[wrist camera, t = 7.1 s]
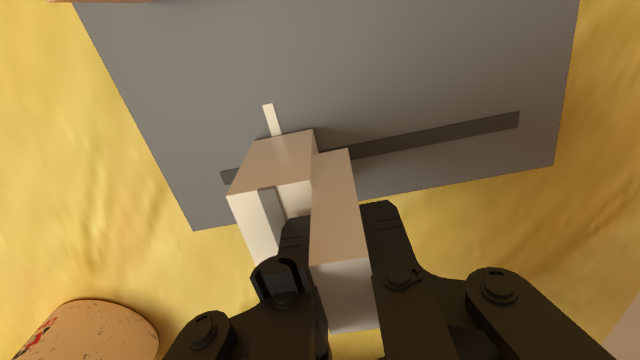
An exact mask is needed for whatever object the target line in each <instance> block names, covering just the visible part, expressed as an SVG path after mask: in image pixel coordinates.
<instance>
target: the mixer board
mask: <svg viewBox="0 0 640 360" xmlns="http://www.w3.org/2000/svg"><path fill="white" fill-rule="evenodd" d="M579 2H580V0H155V1H152V2H148V3H76V2H71V3H72V4H73V6H74V8H75V10H76V12H77V14H78V16H79V18H80V19H81V21H82V23H83V25H84V27H85V29H86V31H87V33H88V35H89V36H90V38H91V40H92V42H93V44H94V46H95V48H96V50H97V51H98V53H99V55H100V57H101V59H102V61H103V63H104V65H105V66H106V68H107V70H108V72H109V74H110V76H111V78H112V80H113V82H114V83H115V85H116V87H117V89H118V91H119V93H120V95H121V97H122V98H123V100H124V102H125V104H126V106H127V108H128V110H129V112H130V114H131V115H132V117H133V119H134V121H135V123H136V125H137V127H138V129H139V130H140V132H141V134H142V136H143V138H144V140H145V142H146V144H147V146H148V147H149V149H150V151H151V153H152V155H153V157H154V159H155V161H156V162H157V164H158V166H159V168H160V170H161V172H162V174H163V176H164V178H165V179H166V181H167V183H168V185H169V187H170V189H171V191H172V193H173V194H174V196H175V198H176V200H177V202H178V204H179V206H180V208H181V210H182V211H183V213H184V215H185V217H186V219H187V221H188V223H189V225H190V226H191V228H192V230H193V231H199V230H204V229H209V228H215V227H220V226H226V225H231V224H237V221H236V219H235V217H234V215H233V212H232V210H231V208H230V205H229V203H228V201H227V199H226V194H227V192H228V190H229V188H230V186H231V184H232V182H233V180H234V178H235V176H236V174H237V172H238V170H239V168H240V166H241V164H242V162H243V160H244V158H245V156H246V154H247V152H248V150H249V148H250V146H251V144H252V142H253V141H257V140H262V139H267V138H271V137H276V136H281V135H285V134H290V133H295V132H300V131H304V130H309V129H313V132H314V136H315V141H316V145H317V149H318V153H324V152H329V151H334V150H339V149H344V148H348V152H349V157H350V163H351V168H352V173H353V178H354V183H355V188H356V194H357V199H358V201H362V200H368V199H373V198H379V197H384V196H390V195H395V194H400V193H406V192H411V191H417V190H422V189H428V188H433V187H439V186H444V185H450V184H455V183H460V182H466V181H471V180H477V179H482V178H488V177H493V176H499V175H504V174H510V173H515V172H520V171H526V170H531V169H537V168H542V167H548V166H553V162H554V156H555V150H556V144H557V137H558V131H559V125H560V119H561V113H562V107H563V100H564V94H565V88H566V82H567V76H568V70H569V64H570V57H571V51H572V45H573V39H574V33H575V27H576V20H577V14H578V8H579Z"/></svg>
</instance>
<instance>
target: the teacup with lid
mask: <svg viewBox="0 0 640 360" xmlns="http://www.w3.org/2000/svg"><path fill="white" fill-rule="evenodd" d="M158 346H159V340H158V336H157V334H156V332H155V330H154V328H153V327H152V326H151V324H150V323H149V322H148V321H147V320H145V319H144V318H143V317H142V316H140V315H139V314H137V313H136V312H134V311H132V310H130V309H128V308H126V307H123V306H121V305H118V304H114V303H111V302H106V301H99V300H79V301H74V302H70V303H67V304H64V305H62V306H60V307H59V308H57V309H56V310H55V311H53V312H52V314H51V315H50V316H49V317H48V318H47V319H46V320H45V322H44V323H43V324H42V325H41V326H40V327H39V328H38V330H37V331H36V332H35V333H34V334H33V335H32V336H31V338H30V339H29V340H28V341H27V342H26V343H25V345H24V346H23V347H22V348H21V349H20V350H19V351H18V353H17V354H16V355H15V356H14V357H13V358H12V359H11V360H153V359H154V357H155V355H156V353H157V351H158Z"/></svg>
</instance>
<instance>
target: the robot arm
mask: <svg viewBox="0 0 640 360" xmlns="http://www.w3.org/2000/svg"><path fill="white" fill-rule="evenodd" d="M250 280H251V282H252V284H253V286H254V289H255V291H256V293H257V295H258V297H259V299H260V303H258V304H257V305H256V306H254V307H253V308H251V309H249V310H247V311H245V312H243V313H240V314H238V315H236V316H233V317H231V318H228V317H227V315H226V314H225V313H224V312H221V311H217V310H215V311H207V312H205V313H202V314H200V315H198V316H196V317H195V318H194V319H192V320H191V321H190V322H188V323H187V324H186V326H185V327H184V328H183V329H182V330H181V332H180V333H179V335H178V336H177V338H176V339H175V341H174V342H173V344H172V345H171V347H170V348H169V350H168V351H167V353H166V355H165V356H164V358H163V359H162V360H332V353H331V349H330V345H329V342H328V328H329V331H330V334H331V335H333V334H341V333H348V332H355V331H362V330H369V329H377V328H380V330H381V336H382V341H383V347H384V352H385V359H382V360H616V359H615V358H614V357H613V356H612V355H611V354H610V353H608V352H607V351H606V350H605V349H604V348H603V347H602V346H601V345H599V344H598V343H597V342H596V341H595V340H594V339H593V338H591V337H590V336H589V335H588V334H587V333H586V332H585V331H583V330H582V329H581V328H580V327H579V326H578V325H577V324H576V323H574V322H573V321H572V320H571V319H570V318H569V317H568V316H566V315H565V314H564V313H563V312H562V311H561V310H560V309H558V308H557V307H556V306H555V305H554V304H553V303H552V302H551V301H549V300H548V299H547V298H546V297H545V296H544V295H543V294H541V293H540V292H539V291H538V290H537V289H536V288H535V287H534V286H532V285H531V284H530V283H529V282H528V281H527V280H525V279H524V278H522V277H521V276H519V275H518V274H516V273H515V272H512V271H509V270H506V269H503V268H495V267H486V268H481V269H477V270H476V271H474V272H472V273H471V274H469V276H468V278H467V279H466V281H465V280H456V279H447V278H442V277H438V276H436V275H433V274H431V273H429V272H427V271H426V270H424V269H423V268H422V267H421V266H420V265H419V263H418V261H417V260H416V257H415V255H414V252H413V249H412V247H411V244H410V241H409V239H408V236H407V234H406V231H405V228H404V226H403V223H402V220H401V218H400V215H399V212H398V210H397V207H396V206H394V205H393V204H392V203H391V202H389V201H388V200H382V201H377V202H371V203H366V204H360V205H359V204H358V199H357V194H356V188H355V183H354V178H353V173H352V168H351V163H350V157H349V152H348V148H344V149H339V150H334V151H329V152H324V153H319V154H314V162H313V187H312V199H311V215H305V216H300V217H294V218H289V219H288V221H287V222H286V223H285V225H284V226H283V228H282V230H281V236H280V242H279V250H278V253H277V255H275V256H272V257H269V258H267V259H266V260H264V261H262V262H261V263H260V264H259V265H258V266H257V267H256V268H255V269H254V270H253V272H252V274H251V276H250Z"/></svg>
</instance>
